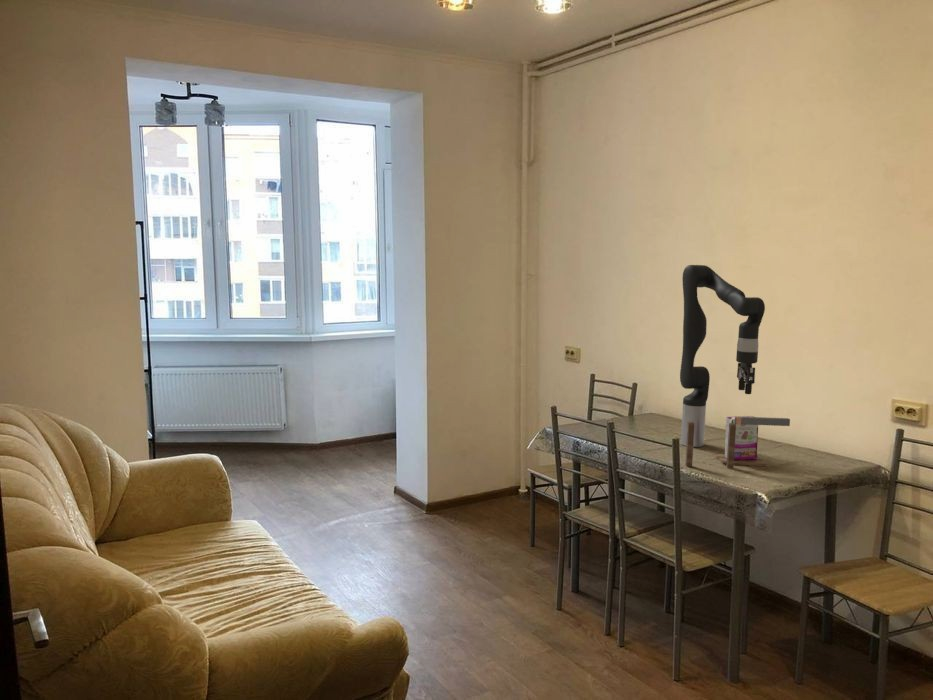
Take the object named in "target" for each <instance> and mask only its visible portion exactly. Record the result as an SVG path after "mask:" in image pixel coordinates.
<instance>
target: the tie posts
mask: <svg viewBox="0 0 933 700" xmlns="http://www.w3.org/2000/svg"><path fill="white" fill-rule="evenodd" d="M735 434H736V424H735V423H729V432H728V449H727V465H725V466H726V468H727V469H728V468H733V469H734V467H735V465H734V451H735ZM693 441H694V422H688V428H687V446H685V447H686V451H685V466H686V467H687V468H693V461H694V460H693V459H694V458H693V455H694V447H693Z"/></svg>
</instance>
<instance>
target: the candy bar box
mask: <svg viewBox="0 0 933 700" xmlns="http://www.w3.org/2000/svg"><path fill="white" fill-rule="evenodd" d="M740 417H755V415H754V416H753V415H742V416H741V415H740ZM729 423H735V416H726V419H725V437H724V438H725V439H724V440H725V442H724V454H725V458H726V459H727V449H728V432H729ZM758 436H759V425H743V424H741V425H739V424H736V434H735V451H734V461H735V460H756V459H757V456H758V439H759V437H758Z"/></svg>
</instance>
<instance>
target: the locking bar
mask: <svg viewBox="0 0 933 700" xmlns="http://www.w3.org/2000/svg"><path fill="white" fill-rule="evenodd" d="M740 416H741V415H740ZM740 416H737V415H735V416H734V417H735V424H739V425H741V424H743V425H758V426H774V427H775V426H777V427H779V426H780V427H790V425H791V419H790V418H788V417H787V418H786V417H763V416H762V417H761V416H760V417H759V416H754V417H740Z"/></svg>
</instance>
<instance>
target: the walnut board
mask: <svg viewBox="0 0 933 700" xmlns="http://www.w3.org/2000/svg"><path fill="white" fill-rule="evenodd" d="M714 457H715V459H717V460H718V461H719V463H721V465H723V464H726V465H725V466H727V459H726V458H725V453H723V454H721V453H715V455H714ZM741 465H749V466H748V467H766V466H767V463H766V462H765V461H764V460H762V458H760V456H758V455H757V459H756V460H735V461H734V466H741Z"/></svg>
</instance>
